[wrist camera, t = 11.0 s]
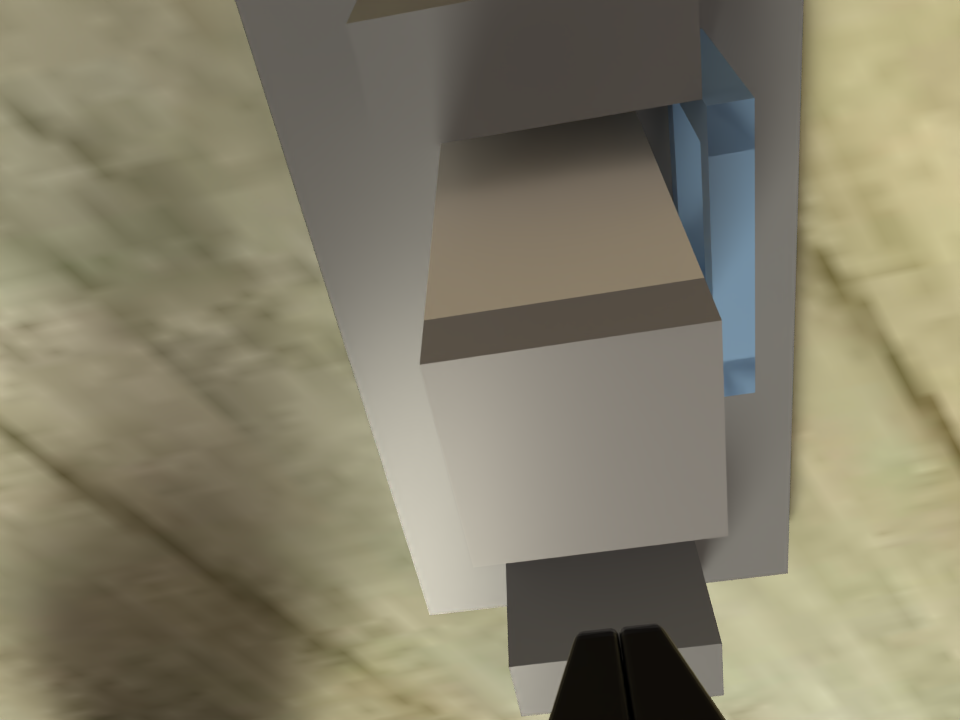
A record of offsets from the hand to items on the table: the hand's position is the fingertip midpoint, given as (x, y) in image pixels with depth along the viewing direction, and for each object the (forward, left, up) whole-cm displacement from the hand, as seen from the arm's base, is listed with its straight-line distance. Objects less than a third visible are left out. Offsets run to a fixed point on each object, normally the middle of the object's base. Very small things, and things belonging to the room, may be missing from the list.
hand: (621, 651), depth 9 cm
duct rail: (-4, 0, -12) cm, 13 cm away
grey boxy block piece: (0, 0, -11) cm, 11 cm away
